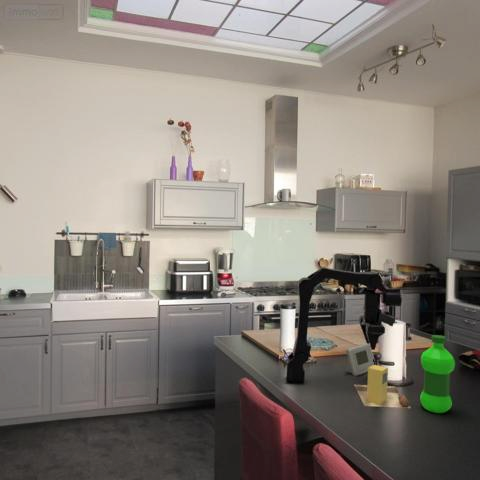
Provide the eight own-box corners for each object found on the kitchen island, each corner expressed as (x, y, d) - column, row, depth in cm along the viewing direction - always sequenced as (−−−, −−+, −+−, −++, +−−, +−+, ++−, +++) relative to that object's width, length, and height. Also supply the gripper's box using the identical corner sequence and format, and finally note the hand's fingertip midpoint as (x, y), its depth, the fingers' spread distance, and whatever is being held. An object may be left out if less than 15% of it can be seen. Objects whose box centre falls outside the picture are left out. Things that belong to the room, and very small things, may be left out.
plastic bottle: (449, 420, 156) (453, 342, 155) (415, 412, 162) (418, 337, 161) (455, 410, 165) (458, 336, 163) (422, 403, 170) (425, 331, 169)
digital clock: (354, 377, 196) (355, 351, 196) (338, 371, 204) (338, 346, 203) (382, 371, 205) (383, 346, 205) (365, 365, 213) (366, 341, 212)
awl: (402, 407, 164) (402, 399, 164) (394, 396, 174) (394, 389, 174) (409, 407, 164) (409, 400, 164) (401, 396, 174) (401, 389, 174)
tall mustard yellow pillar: (366, 401, 169) (368, 367, 168) (372, 397, 173) (374, 364, 172) (381, 405, 166) (382, 371, 165) (387, 400, 169) (388, 367, 169)
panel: (364, 408, 164) (364, 405, 164) (353, 386, 185) (353, 384, 185) (410, 410, 164) (410, 408, 164) (394, 388, 185) (394, 386, 185)
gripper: (400, 310, 177) (398, 354, 178) (387, 302, 195) (386, 341, 196) (368, 309, 177) (367, 353, 178) (359, 301, 196) (358, 340, 197)
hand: (370, 346), depth 187 cm, fingers open, 9 cm apart
